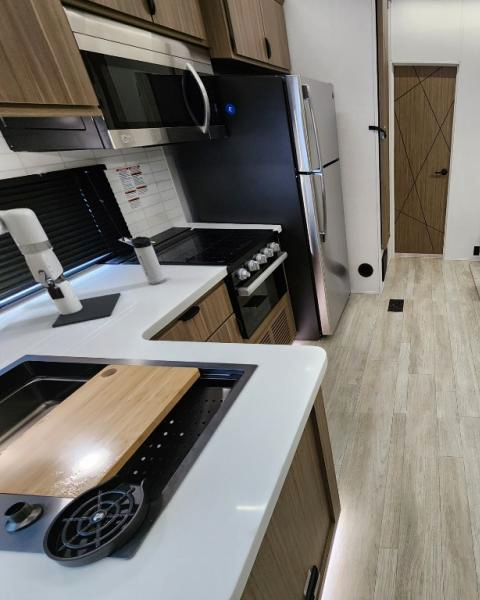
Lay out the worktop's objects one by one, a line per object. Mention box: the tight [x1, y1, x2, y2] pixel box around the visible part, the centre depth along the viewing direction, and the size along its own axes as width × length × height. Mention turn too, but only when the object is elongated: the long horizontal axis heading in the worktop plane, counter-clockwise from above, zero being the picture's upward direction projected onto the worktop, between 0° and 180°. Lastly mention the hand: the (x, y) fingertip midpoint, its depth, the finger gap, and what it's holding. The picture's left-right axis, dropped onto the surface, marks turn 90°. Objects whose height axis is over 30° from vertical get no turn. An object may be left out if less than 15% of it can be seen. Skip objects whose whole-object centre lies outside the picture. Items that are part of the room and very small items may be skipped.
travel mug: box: [130, 235, 166, 286], centre depth 141 cm, size 6×7×20 cm
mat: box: [51, 292, 122, 329], centre depth 124 cm, size 16×20×1 cm
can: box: [45, 278, 82, 315], centre depth 119 cm, size 6×6×12 cm
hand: (62, 294), depth 119 cm, fingers closed on can, 6 cm apart
